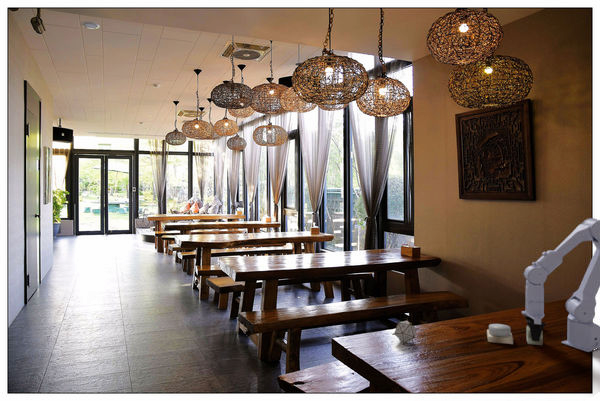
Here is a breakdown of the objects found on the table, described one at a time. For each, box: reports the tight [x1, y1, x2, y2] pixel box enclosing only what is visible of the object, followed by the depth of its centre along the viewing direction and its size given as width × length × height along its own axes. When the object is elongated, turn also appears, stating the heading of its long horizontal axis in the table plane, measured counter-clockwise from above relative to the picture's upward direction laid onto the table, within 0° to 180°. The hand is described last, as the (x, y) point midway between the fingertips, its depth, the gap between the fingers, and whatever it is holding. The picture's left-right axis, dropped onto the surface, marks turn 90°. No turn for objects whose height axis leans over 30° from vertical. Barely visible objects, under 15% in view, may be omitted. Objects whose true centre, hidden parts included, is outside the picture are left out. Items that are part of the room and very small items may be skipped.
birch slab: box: [486, 329, 514, 345], centre depth 161 cm, size 8×8×2 cm
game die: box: [391, 318, 419, 346], centre depth 159 cm, size 9×8×10 cm
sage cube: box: [525, 325, 544, 346], centre depth 157 cm, size 4×4×5 cm
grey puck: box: [488, 323, 512, 337], centre depth 161 cm, size 7×7×2 cm
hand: (534, 338), depth 157 cm, fingers closed on sage cube, 4 cm apart
